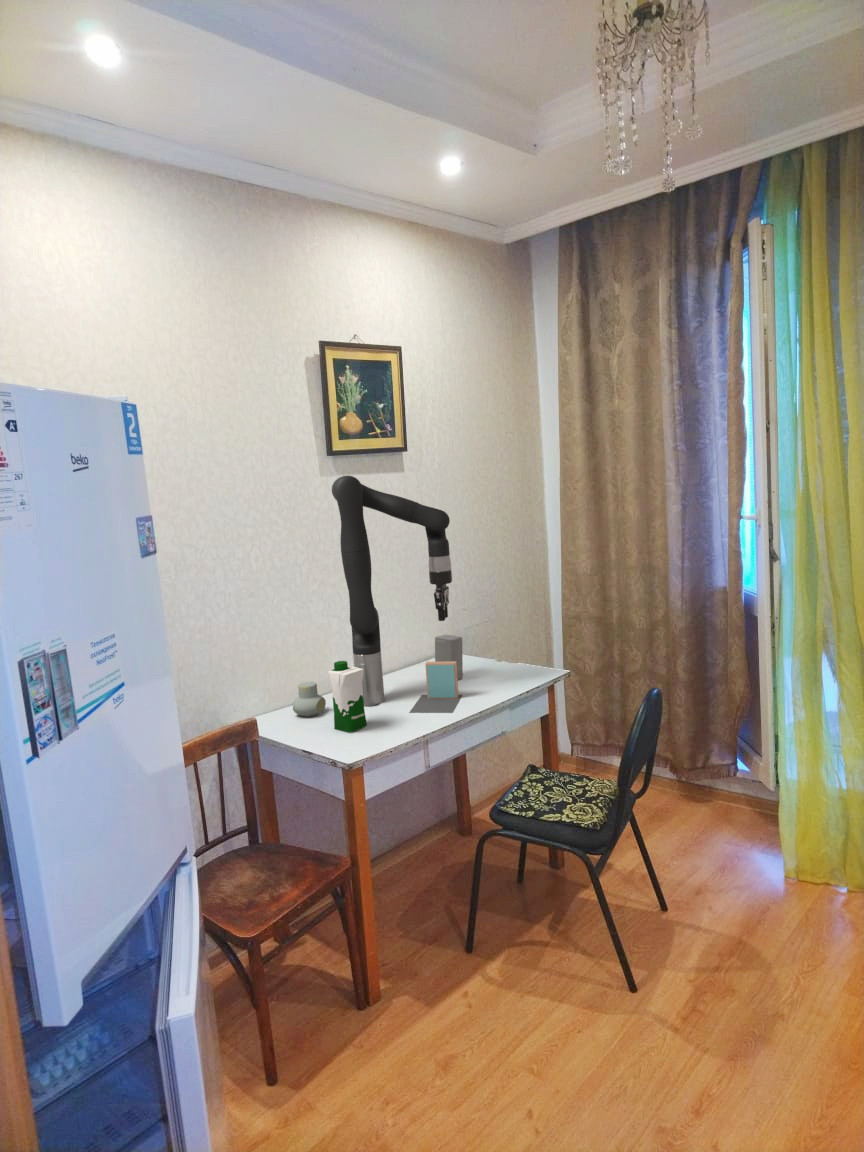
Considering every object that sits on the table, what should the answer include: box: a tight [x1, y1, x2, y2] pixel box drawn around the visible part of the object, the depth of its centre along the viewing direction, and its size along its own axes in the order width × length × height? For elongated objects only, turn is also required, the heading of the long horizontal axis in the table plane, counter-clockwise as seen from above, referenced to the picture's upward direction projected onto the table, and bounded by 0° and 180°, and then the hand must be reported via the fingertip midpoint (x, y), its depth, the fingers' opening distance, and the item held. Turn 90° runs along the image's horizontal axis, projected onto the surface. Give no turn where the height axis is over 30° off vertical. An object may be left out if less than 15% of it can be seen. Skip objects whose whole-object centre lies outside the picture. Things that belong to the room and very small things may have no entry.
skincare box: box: [434, 634, 464, 681], centre depth 274 cm, size 8×7×16 cm
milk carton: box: [327, 660, 368, 734], centre depth 228 cm, size 9×9×20 cm
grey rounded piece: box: [292, 681, 326, 717], centre depth 245 cm, size 11×8×10 cm
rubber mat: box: [408, 694, 463, 714], centre depth 246 cm, size 14×19×1 cm
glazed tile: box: [424, 661, 459, 699], centre depth 251 cm, size 10×3×12 cm, turn 78°
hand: (443, 618), depth 256 cm, fingers open, 4 cm apart
